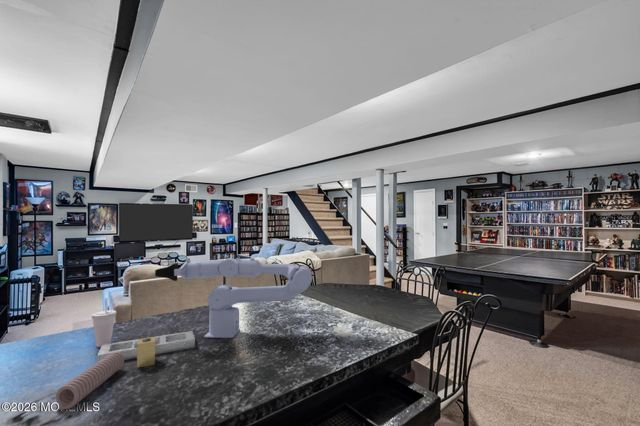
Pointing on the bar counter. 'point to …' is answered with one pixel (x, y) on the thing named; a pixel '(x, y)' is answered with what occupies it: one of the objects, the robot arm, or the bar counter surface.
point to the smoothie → (103, 325)
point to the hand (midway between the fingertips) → (161, 271)
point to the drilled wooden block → (146, 351)
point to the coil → (88, 380)
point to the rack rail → (164, 345)
